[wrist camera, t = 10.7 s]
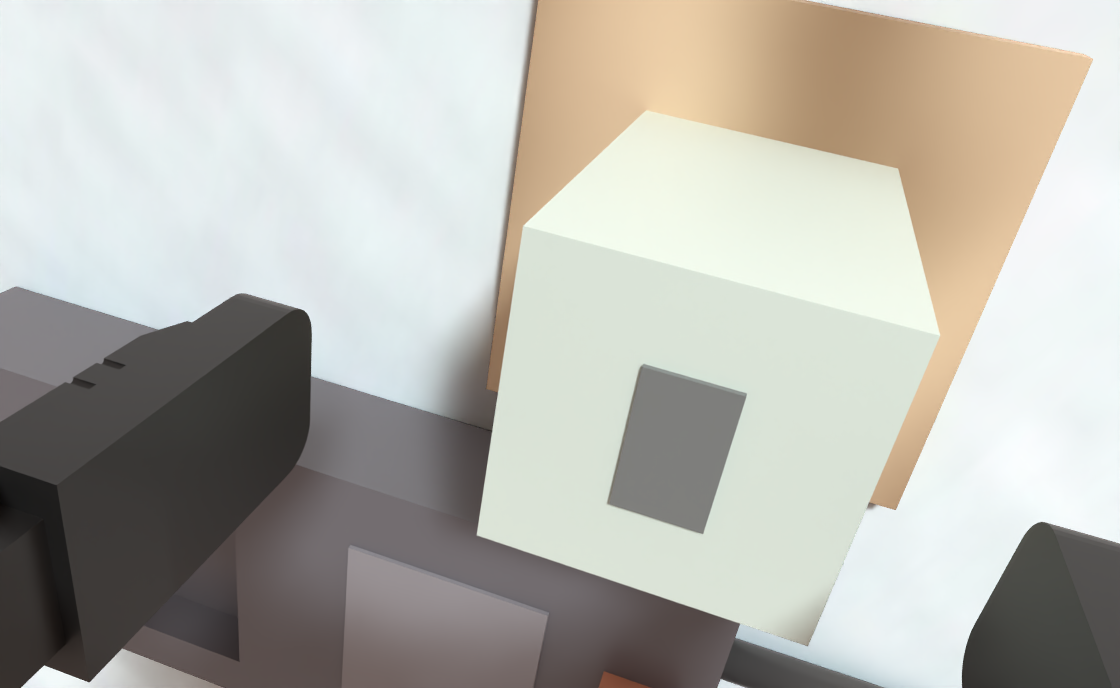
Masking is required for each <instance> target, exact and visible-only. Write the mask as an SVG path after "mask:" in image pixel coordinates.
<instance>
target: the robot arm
mask: <svg viewBox="0 0 1120 688" xmlns="http://www.w3.org/2000/svg"><path fill="white" fill-rule="evenodd" d="M311 342H312V330H311V322H310V319H309V316H308V315H307V313H306V312H305V311H303V310H301V309H298V308H294V307H291V306H287V305H284V304H280V303H276V302H273V301H269V300H266V299H262V298H259V297H255V296H252V295H248V294H242V293H241V294H237V295H235V296H233V297H231V298H229V299H228V300H226V301H225V302H223V303H222V304H220V305H219V306H217V307H216V308H214V309H212V310H211V311H209V312H208V313H206V314H205V315H203V316H202V317H200V318H198V319H197V320H195V321H194V322H188V321H186V322H183V323H180V324H177V325H173V326H170V327H167V328H164V329H160V330H157V331H154V332H151V333H147V334H144V335H141V336H139V337H137V338H136V339H134V340H133V341H131V342H129V343H128V344H126V345H124V346H123V347H121V348H120V349H118V350H116V351H115V352H113V353H111V354H110V355H108V356H107V357H105V358H104V361H103V363H102V364H99V363H95V364H94V365H92V366H90V367H89V368H87V369H85V370H84V371H82V372H81V373H79V374H77V375H76V376H74V377H73V381H72V382H71V383H67V382H64V383H63V384H61V385H59V386H58V387H56V388H55V389H53V390H51V391H50V392H48V393H46V394H45V395H43V396H42V397H40V398H38V399H37V400H35V401H33V402H32V403H30V404H29V405H27V406H25V407H24V408H22V409H20V410H19V411H17V412H16V413H14V414H12V415H11V416H9V417H8V418H6V419H4V420H3V421H1V422H0V688H21V687H22V686H23V685H24V684H25V683H26V682H27V681H28V680H29V679H30V678H31V677H32V676H33V675H34V674H35V673H36V672H37V671H39V670H40V669H41V668H42V667H43V666H44V665H45V666H47V667H50V668H53V669H55V670H58V671H61V672H63V673H66V674H69V675H71V676H74V677H76V678H79V679H82V680H84V681H87V682H90V681H91V680H92V679H93V678H94V677H95V676H96V675H97V674H98V673H99V672H100V671H101V670H102V669H103V668H104V667H105V666H106V664H107V663H108V662H109V661H110V660H111V659H112V658H113V657H114V656H115V655H116V654H117V653H118V652H119V651H120V650H121V649H122V648H123V647H124V646H125V645H126V644H127V643H128V642H129V640H130V639H131V638H132V637H133V636H134V635H135V634H136V633H137V632H138V631H139V630H140V629H141V628H142V627H143V626H144V625H145V624H146V623H147V622H148V621H149V620H150V619H151V617H152V616H153V615H154V614H155V613H156V612H157V611H158V610H159V609H160V608H161V607H162V606H163V605H164V604H165V603H166V602H167V601H168V600H169V599H170V598H171V597H172V596H173V594H174V593H175V592H176V591H177V590H178V589H179V588H180V587H181V586H182V585H183V584H184V583H185V582H186V581H187V580H188V579H189V578H190V577H191V576H192V575H193V574H194V573H195V571H196V570H197V569H198V568H199V567H200V566H201V565H202V564H203V563H204V562H205V561H206V560H207V559H208V558H209V557H210V556H211V555H212V554H213V553H214V552H215V551H216V550H217V549H218V547H219V546H220V545H221V544H222V543H223V542H224V541H225V540H226V539H227V538H228V537H229V536H230V535H231V534H232V533H233V532H234V531H235V530H236V529H237V528H238V527H239V526H240V524H241V523H242V522H243V521H244V520H245V519H246V518H247V517H248V516H249V515H250V514H251V513H252V512H253V511H254V510H255V509H256V508H257V507H258V506H259V505H260V504H261V503H262V501H263V500H264V499H265V498H266V497H267V496H268V495H269V494H270V493H271V492H272V491H273V490H274V489H275V488H276V487H277V486H278V485H279V484H280V483H281V482H282V481H283V480H284V478H285V477H286V476H287V475H288V474H289V473H290V472H291V471H292V469H293V468H294V466H295V465H296V463H297V462H298V460H299V458H300V456H301V454H302V452H303V449H304V447H305V444H306V441H307V437H308V433H309V427H310V401H311ZM962 688H1120V544H1119V543H1116V542H1112V541H1109V540H1105V539H1102V538H1098V537H1095V536H1091V535H1088V534H1084V533H1081V532H1077V531H1073V530H1070V529H1066V528H1063V527H1059V526H1056V525H1052V524H1049V523H1045V522H1040V523H1037V524H1035V525H1033V526H1032V527H1031V528H1030V529H1029V530H1028V531H1027V533H1026V534H1025V535H1024V537H1023V539H1022V540H1021V542H1020V544H1019V546H1018V547H1017V549H1016V551H1015V553H1014V555H1013V556H1012V558H1011V560H1010V562H1009V564H1008V565H1007V567H1006V569H1005V571H1004V573H1003V574H1002V576H1001V578H1000V580H999V582H998V583H997V585H996V587H995V589H994V591H993V592H992V594H991V596H990V598H989V600H988V601H987V603H986V605H985V607H984V609H983V610H982V612H981V614H980V616H979V618H978V619H977V621H976V623H975V625H974V627H973V629H972V631H971V633H970V636H969V639H968V642H967V645H966V649H965V654H964V659H963V667H962Z"/></svg>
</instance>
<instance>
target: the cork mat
mask: <svg viewBox="0 0 1120 688" xmlns="http://www.w3.org/2000/svg"><path fill="white" fill-rule="evenodd" d="M1092 61H1093V59H1092V58H1090V57H1088V56H1086V55H1084V54H1080V53H1075V52H1070V51H1065V50H1059V49H1054V48H1049V47H1044V46H1039V45H1034V44H1028V43H1023V42H1018V41H1013V40H1008V39H1003V38H997V37H992V36H987V35H982V34H977V33H972V32H966V31H961V30H956V29H951V28H946V27H941V26H935V25H930V24H925V23H920V22H915V21H910V20H904V19H899V18H894V17H889V16H884V15H879V14H873V13H868V12H863V11H858V10H853V9H848V8H842V7H837V6H832V5H827V4H822V3H817V2H811V1H806V0H538V6H537V13H536V21H535V28H534V36H533V43H532V51H531V58H530V66H529V73H528V81H527V88H526V95H525V103H524V110H523V118H522V125H521V133H520V140H519V148H518V155H517V163H516V170H515V177H514V185H513V192H512V200H511V207H510V215H509V222H508V230H507V237H506V245H505V252H504V259H503V267H502V274H501V282H500V289H499V297H498V304H497V312H496V319H495V327H494V334H493V341H492V349H491V356H490V364H489V371H488V379H487V386H486V389H488V390H491V391H494V392H498V390H499V383H500V376H501V370H502V363H503V356H504V350H505V343H506V337H507V330H508V323H509V317H510V310H511V303H512V297H513V290H514V283H515V277H516V270H517V263H518V257H519V250H520V243H521V237H522V230H523V226H524V225H525V224H526V223H527V222H528V221H529V220H530V219H531V218H532V217H533V216H534V215H535V214H536V213H537V212H538V211H539V210H541V209H542V208H543V207H544V206H545V205H546V204H547V203H548V202H549V201H550V200H551V199H552V198H553V197H554V196H555V195H557V194H558V193H559V192H560V191H561V190H562V189H563V188H564V187H565V186H566V185H567V184H568V183H569V182H570V181H571V180H572V179H574V178H575V177H576V176H577V175H578V174H579V173H580V172H581V171H582V170H583V169H584V168H585V167H586V166H587V165H588V164H589V163H591V162H592V161H593V160H594V159H595V158H596V157H597V156H598V155H599V154H600V153H601V152H602V151H603V150H604V149H605V148H606V147H608V146H609V145H610V144H611V143H612V142H613V141H614V140H615V139H616V138H617V137H618V136H619V135H620V134H621V133H622V132H623V131H625V130H626V129H627V128H628V127H629V126H630V125H631V124H632V123H633V122H634V121H635V120H636V119H637V118H638V117H639V116H640V115H642V114H643V113H644V112H645V111H646V110H647V111H652V112H656V113H660V114H664V115H669V116H673V117H677V118H682V119H686V120H690V121H695V122H699V123H703V124H708V125H712V126H716V127H721V128H725V129H729V130H734V131H738V132H742V133H747V134H751V135H755V136H760V137H764V138H768V139H772V140H777V141H781V142H785V143H790V144H794V145H798V146H803V147H807V148H811V149H816V150H820V151H824V152H829V153H833V154H837V155H842V156H846V157H850V158H855V159H859V160H863V161H867V162H872V163H876V164H880V165H885V166H889V167H893V168H898V170H899V174H900V178H901V182H902V186H903V190H904V194H905V198H906V202H907V206H908V210H909V214H910V218H911V222H912V226H913V230H914V234H915V238H916V242H917V246H918V250H919V254H920V257H921V261H922V265H923V269H924V273H925V277H926V281H927V285H928V289H929V293H930V297H931V301H932V305H933V309H934V313H935V317H936V321H937V325H938V329H939V333H940V338H939V340H938V342H937V345H936V347H935V349H934V352H933V354H932V356H931V359H930V361H929V363H928V366H927V368H926V370H925V373H924V375H923V377H922V380H921V382H920V384H919V387H918V389H917V391H916V394H915V396H914V398H913V401H912V403H911V405H910V408H909V410H908V412H907V415H906V417H905V420H904V422H903V424H902V427H901V429H900V431H899V434H898V436H897V438H896V441H895V443H894V445H893V448H892V450H891V452H890V455H889V457H888V459H887V462H886V464H885V466H884V469H883V471H882V473H881V476H880V478H879V480H878V483H877V485H876V487H875V490H874V492H873V495H872V497H871V499H870V503H873V504H877V505H880V506H884V507H887V508H890V509H894V510H896V508H897V506H898V504H899V501H900V499H901V497H902V494H903V492H904V490H905V488H906V485H907V483H908V481H909V478H910V476H911V474H912V472H913V469H914V467H915V465H916V463H917V460H918V458H919V456H920V453H921V451H922V449H923V447H924V444H925V442H926V440H927V437H928V435H929V433H930V431H931V428H932V426H933V424H934V421H935V419H936V417H937V415H938V412H939V410H940V408H941V405H942V403H943V401H944V399H945V396H946V394H947V392H948V389H949V387H950V385H951V383H952V380H953V378H954V376H955V374H956V371H957V369H958V367H959V364H960V362H961V360H962V358H963V355H964V353H965V351H966V348H967V346H968V344H969V342H970V339H971V337H972V335H973V332H974V330H975V328H976V326H977V323H978V321H979V319H980V316H981V314H982V312H983V310H984V307H985V305H986V303H987V300H988V298H989V296H990V294H991V291H992V289H993V287H994V284H995V282H996V280H997V278H998V275H999V273H1000V271H1001V269H1002V266H1003V264H1004V262H1005V259H1006V257H1007V255H1008V253H1009V250H1010V248H1011V246H1012V243H1013V241H1014V239H1015V237H1016V234H1017V232H1018V230H1019V227H1020V225H1021V223H1022V221H1023V218H1024V216H1025V214H1026V211H1027V209H1028V207H1029V205H1030V202H1031V200H1032V198H1033V195H1034V193H1035V191H1036V189H1037V186H1038V184H1039V182H1040V179H1041V177H1042V175H1043V173H1044V170H1045V168H1046V166H1047V164H1048V161H1049V159H1050V157H1051V154H1052V152H1053V150H1054V148H1055V145H1056V143H1057V141H1058V138H1059V136H1060V134H1061V132H1062V129H1063V127H1064V125H1065V122H1066V120H1067V118H1068V116H1069V113H1070V111H1071V109H1072V106H1073V104H1074V102H1075V100H1076V97H1077V95H1078V93H1079V90H1080V88H1081V86H1082V84H1083V81H1084V79H1085V77H1086V75H1087V72H1088V70H1089V68H1090V65H1091V63H1092Z"/></svg>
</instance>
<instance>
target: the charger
mask: <svg viewBox="0 0 1120 688" xmlns="http://www.w3.org/2000/svg"><path fill="white" fill-rule="evenodd" d="M939 338H940V333H939V329H938V325H937V321H936V317H935V313H934V309H933V305H932V301H931V297H930V293H929V289H928V285H927V281H926V277H925V273H924V269H923V265H922V261H921V257H920V254H919V250H918V246H917V242H916V238H915V234H914V230H913V226H912V222H911V218H910V214H909V210H908V206H907V202H906V198H905V194H904V190H903V186H902V182H901V178H900V174H899V170H898V168H893V167H889V166H885V165H880V164H876V163H872V162H867V161H863V160H859V159H855V158H850V157H846V156H842V155H837V154H833V153H829V152H824V151H820V150H816V149H811V148H807V147H803V146H798V145H794V144H790V143H785V142H781V141H777V140H772V139H768V138H764V137H760V136H755V135H751V134H747V133H742V132H738V131H734V130H729V129H725V128H721V127H716V126H712V125H708V124H703V123H699V122H695V121H690V120H686V119H682V118H677V117H673V116H669V115H664V114H660V113H656V112H652V111H647V110H646V111H645V112H644V113H643V114H642V115H640V116H639V117H638V118H637V119H636V120H635V121H634V122H633V123H632V124H631V125H630V126H629V127H628V128H627V129H626V130H625V131H623V132H622V133H621V134H620V135H619V136H618V137H617V138H616V139H615V140H614V141H613V142H612V143H611V144H610V145H609V146H608V147H606V148H605V149H604V150H603V151H602V152H601V153H600V154H599V155H598V156H597V157H596V158H595V159H594V160H593V161H592V162H591V163H589V164H588V165H587V166H586V167H585V168H584V169H583V170H582V171H581V172H580V173H579V174H578V175H577V176H576V177H575V178H574V179H572V180H571V181H570V182H569V183H568V184H567V185H566V186H565V187H564V188H563V189H562V190H561V191H560V192H559V193H558V194H557V195H555V196H554V197H553V198H552V199H551V200H550V201H549V202H548V203H547V204H546V205H545V206H544V207H543V208H542V209H541V210H539V211H538V212H537V213H536V214H535V215H534V216H533V217H532V218H531V219H530V220H529V221H528V222H527V223H526V224H525V225H524V226H523V230H522V237H521V243H520V250H519V257H518V263H517V270H516V277H515V283H514V290H513V297H512V303H511V310H510V317H509V323H508V330H507V337H506V343H505V350H504V356H503V363H502V370H501V376H500V383H499V390H498V396H497V403H496V410H495V416H494V423H493V430H492V436H491V443H490V450H489V456H488V463H487V470H486V476H485V483H484V490H483V496H482V503H481V510H480V516H479V523H478V530H477V536H480V537H483V538H486V539H489V540H492V541H495V542H498V543H501V544H504V545H507V546H510V547H513V548H516V549H519V550H522V551H525V552H528V553H531V554H534V555H537V556H540V557H543V558H546V559H549V560H552V561H555V562H558V563H561V564H564V565H567V566H570V567H573V568H576V569H579V570H582V571H585V572H588V573H591V574H594V575H597V576H600V577H603V578H606V579H609V580H612V581H615V582H618V583H621V584H624V585H627V586H630V587H633V588H636V589H639V590H642V591H645V592H648V593H651V594H653V595H656V596H659V597H662V598H665V599H668V600H671V601H674V602H677V603H680V604H683V605H686V606H689V607H692V608H695V609H698V610H701V611H704V612H707V613H710V614H713V615H716V616H719V617H722V618H725V619H728V620H731V621H734V622H737V623H740V624H743V625H746V626H749V627H752V628H755V629H758V630H761V631H764V632H767V633H770V634H773V635H776V636H779V637H782V638H785V639H788V640H791V641H794V642H797V643H800V644H803V645H806V646H808V645H809V642H810V640H811V637H812V635H813V633H814V630H815V628H816V626H817V623H818V621H819V619H820V616H821V614H822V612H823V609H824V607H825V605H826V602H827V600H828V598H829V595H830V593H831V591H832V588H833V586H834V584H835V581H836V579H837V577H838V574H839V572H840V570H841V567H842V565H843V562H844V560H845V558H846V555H847V553H848V551H849V548H850V546H851V544H852V541H853V539H854V537H855V534H856V532H857V530H858V527H859V525H860V523H861V520H862V518H863V516H864V513H865V511H866V509H867V506H868V504H869V502H870V499H871V497H872V495H873V492H874V490H875V487H876V485H877V483H878V480H879V478H880V476H881V473H882V471H883V469H884V466H885V464H886V462H887V459H888V457H889V455H890V452H891V450H892V448H893V445H894V443H895V441H896V438H897V436H898V434H899V431H900V429H901V427H902V424H903V422H904V420H905V417H906V415H907V412H908V410H909V408H910V405H911V403H912V401H913V398H914V396H915V394H916V391H917V389H918V387H919V384H920V382H921V380H922V377H923V375H924V373H925V370H926V368H927V366H928V363H929V361H930V359H931V356H932V354H933V352H934V349H935V347H936V345H937V342H938V340H939Z"/></svg>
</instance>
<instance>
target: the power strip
mask: <svg viewBox="0 0 1120 688" xmlns="http://www.w3.org/2000/svg"><path fill="white" fill-rule="evenodd" d="M154 331H157V329H154V328H150V327H147V326H144V325H140V324H137V323H134V322H131V321H127V320H124V319H121V318H117V317H114V316H111V315H108V314H104V313H101V312H98V311H94V310H91V309H88V308H85V307H81V306H78V305H75V304H71V303H68V302H65V301H62V300H58V299H55V298H52V297H49V296H45V295H42V294H39V293H35V292H32V291H29V290H26V289H22V288H19V287H14V288H11V289H9V290H7V291H5V292H2V293H0V422H1V421H3V420H4V419H6V418H8V417H9V416H11V415H12V414H14V413H16V412H17V411H19V410H20V409H22V408H24V407H25V406H27V405H29V404H30V403H32V402H33V401H35V400H37V399H38V398H40V397H42V396H43V395H45V394H46V393H48V392H50V391H51V390H53V389H55V388H56V387H58V386H59V385H61V384H63V383H64V382H67V383H71V382H72V381H73V377H74V376H76V375H77V374H79V373H81V372H82V371H84V370H85V369H87V368H89V367H90V366H92V365H94V364H95V363H99V364H102V363H103V361H104V358H105V357H107V356H108V355H110V354H111V353H113V352H115V351H116V350H118V349H120V348H121V347H123V346H124V345H126V344H128V343H129V342H131V341H133V340H134V339H136V338H137V337H139V336H141V335H144V334H147V333H151V332H154ZM491 436H492V432H491V431H488V430H485V429H482V428H478V427H475V426H472V425H469V424H465V423H462V422H459V421H455V420H452V419H449V418H446V417H442V416H439V415H436V414H432V413H429V412H426V411H423V410H419V409H416V408H413V407H409V406H406V405H403V404H400V403H396V402H393V401H390V400H386V399H383V398H380V397H377V396H373V395H370V394H367V393H364V392H360V391H357V390H354V389H350V388H347V387H344V386H341V385H337V384H334V383H331V382H327V381H324V380H321V379H318V378H314V377H311V401H310V427H309V433H308V437H307V441H306V444H305V447H304V449H303V452H302V454H301V456H300V458H299V460H298V462H297V463H296V465H295V466H294V468H293V469H292V471H291V472H290V473H289V474H288V475H287V476H286V477H285V478H284V480H283V481H282V482H281V483H280V484H279V485H278V486H277V487H276V488H275V489H274V490H273V491H272V492H271V493H270V494H269V495H268V496H267V497H266V498H265V499H264V500H263V501H262V503H261V504H260V505H259V506H258V507H257V508H256V509H255V510H254V511H253V512H252V513H251V514H250V515H249V516H248V517H247V518H246V519H245V520H244V521H243V522H242V523H241V524H240V526H239V527H238V528H237V529H236V530H235V531H234V532H233V533H232V534H231V535H230V536H229V537H228V538H227V539H226V540H225V541H224V542H223V543H222V544H221V545H220V546H219V547H218V549H217V550H216V551H215V552H214V553H213V554H212V555H211V556H210V557H209V558H208V559H207V560H206V561H205V562H204V563H203V564H202V565H201V566H200V567H199V568H198V569H197V570H196V571H195V573H194V574H193V575H192V576H191V577H190V578H189V579H188V580H187V581H186V582H185V583H184V584H183V585H182V586H181V587H180V588H179V589H178V590H177V591H176V592H175V593H174V594H173V596H172V597H171V598H170V599H169V600H168V601H167V602H166V603H165V604H164V605H163V606H162V607H161V608H160V609H159V610H158V611H157V612H156V613H155V614H154V615H153V616H152V617H151V619H150V620H149V621H148V622H147V623H146V624H145V625H144V626H143V627H142V628H141V629H140V630H139V631H138V632H137V633H136V634H135V635H134V636H133V637H132V638H131V639H130V640H129V642H128V643H127V644H126V645H125V646H124V647H123V649H126V650H128V651H131V652H133V653H136V654H138V655H141V656H144V657H146V658H149V659H151V660H154V661H157V662H159V663H162V664H164V665H167V666H170V667H172V668H175V669H177V670H180V671H183V672H185V673H188V674H190V675H193V676H195V677H198V678H201V679H203V680H206V681H208V682H211V683H214V684H216V685H219V686H221V687H224V688H717V687H718V684H719V681H720V679H722V680H725V681H728V682H731V683H734V684H737V685H740V686H743V687H746V688H883V687H880V686H877V685H874V684H871V683H868V682H865V681H862V680H859V679H856V678H853V677H850V676H847V675H844V674H841V673H838V672H835V671H832V670H829V669H826V668H823V667H820V666H817V665H814V664H811V663H808V662H805V661H802V660H799V659H796V658H793V657H790V656H787V655H784V654H781V653H778V652H775V651H772V650H769V649H766V648H763V647H760V646H757V645H754V644H751V643H748V642H745V641H742V640H739V639H736V638H735V636H736V633H737V631H738V628H739V625H740V623H737V622H734V621H731V620H728V619H725V618H722V617H719V616H716V615H713V614H710V613H707V612H704V611H701V610H698V609H695V608H692V607H689V606H686V605H683V604H680V603H677V602H674V601H671V600H668V599H665V598H662V597H659V596H656V595H653V594H651V593H648V592H645V591H642V590H639V589H636V588H633V587H630V586H627V585H624V584H621V583H618V582H615V581H612V580H609V579H606V578H603V577H600V576H597V575H594V574H591V573H588V572H585V571H582V570H579V569H576V568H573V567H570V566H567V565H564V564H561V563H558V562H555V561H552V560H549V559H546V558H543V557H540V556H537V555H534V554H531V553H528V552H525V551H522V550H519V549H516V548H513V547H510V546H507V545H504V544H501V543H498V542H495V541H492V540H489V539H486V538H483V537H480V536H477V530H478V523H479V516H480V510H481V503H482V496H483V490H484V483H485V476H486V470H487V463H488V456H489V450H490V443H491Z"/></svg>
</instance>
